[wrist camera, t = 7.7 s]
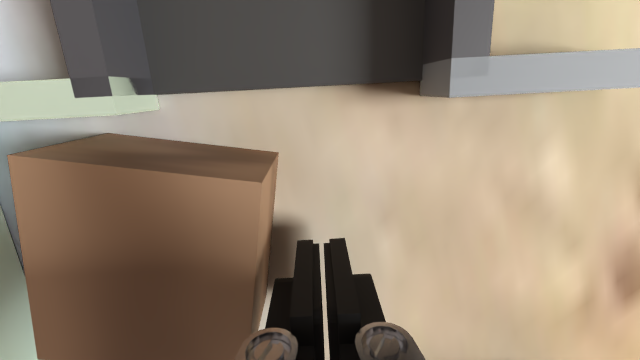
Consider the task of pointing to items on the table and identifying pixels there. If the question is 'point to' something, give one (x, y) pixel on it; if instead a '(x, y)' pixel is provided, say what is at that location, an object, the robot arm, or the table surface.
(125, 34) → the trap box
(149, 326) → the walnut block
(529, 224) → the table surface
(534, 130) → the table surface
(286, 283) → the robot arm
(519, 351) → the table surface
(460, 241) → the table surface
